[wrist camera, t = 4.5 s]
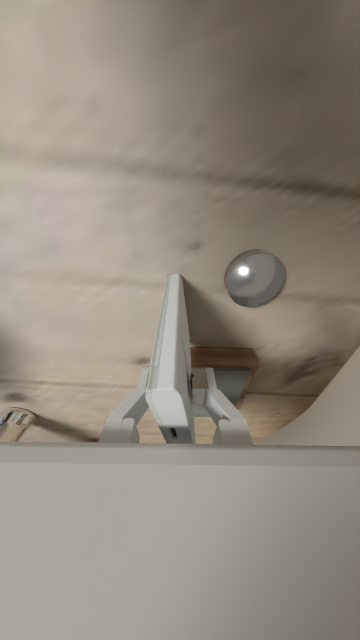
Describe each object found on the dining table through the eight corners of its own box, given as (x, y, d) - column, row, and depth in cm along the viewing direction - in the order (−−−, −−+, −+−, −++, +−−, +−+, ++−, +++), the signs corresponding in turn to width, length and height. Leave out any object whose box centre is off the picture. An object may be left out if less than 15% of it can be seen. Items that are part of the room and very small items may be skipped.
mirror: (163, 346, 22) (161, 364, 20) (251, 348, 22) (260, 366, 20) (166, 401, 30) (165, 418, 28) (231, 402, 30) (235, 420, 28)
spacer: (228, 248, 15) (234, 253, 13) (282, 249, 15) (295, 255, 13) (220, 297, 18) (224, 306, 16) (265, 297, 18) (273, 307, 16)
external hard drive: (177, 336, 21) (174, 460, 11) (165, 275, 16) (140, 391, 6) (189, 335, 21) (198, 459, 11) (181, 273, 16) (183, 387, 6)
